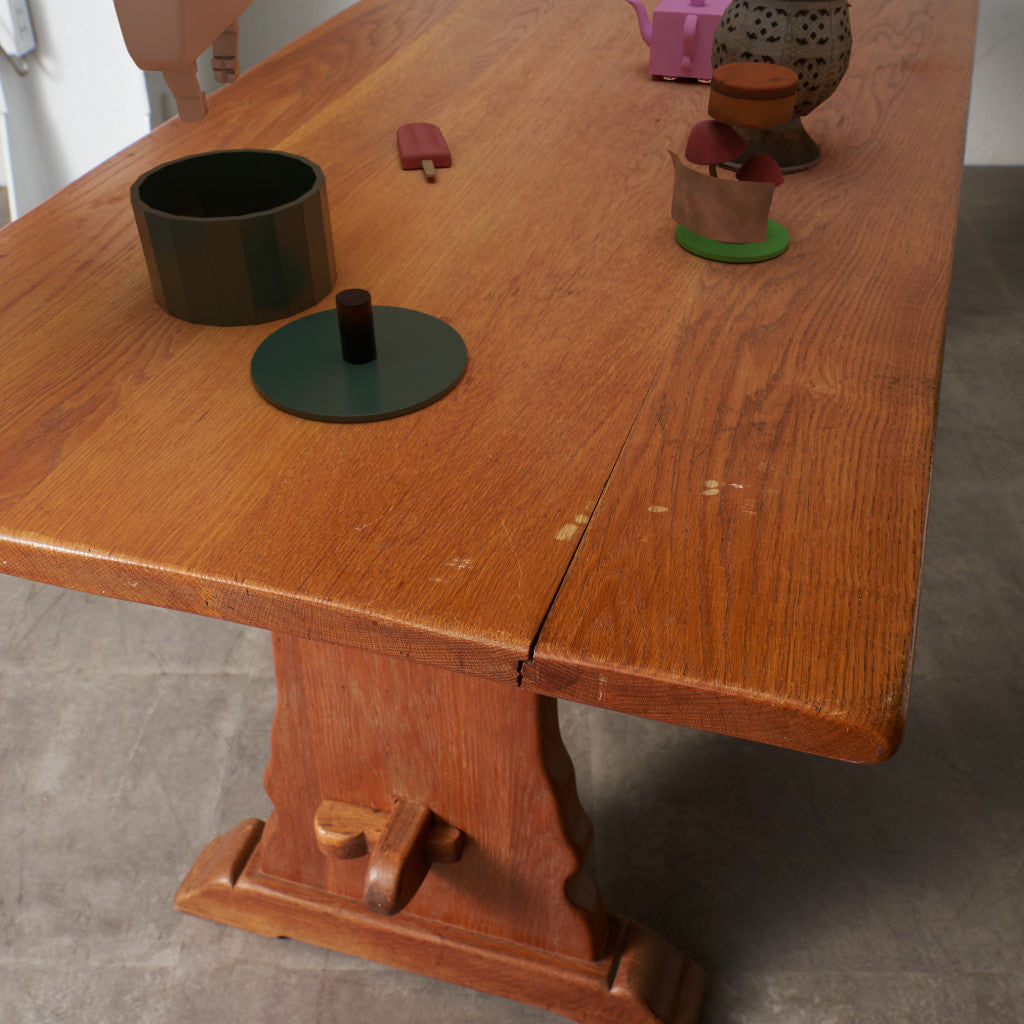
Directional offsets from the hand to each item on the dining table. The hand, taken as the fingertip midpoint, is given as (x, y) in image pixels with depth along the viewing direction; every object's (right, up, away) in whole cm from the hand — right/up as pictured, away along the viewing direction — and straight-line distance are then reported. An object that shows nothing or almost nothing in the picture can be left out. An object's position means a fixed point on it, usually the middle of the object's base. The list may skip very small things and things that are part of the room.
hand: (212, 99), depth 78 cm
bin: (0, -12, +10) cm, 16 cm away
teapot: (+47, +28, +59) cm, 80 cm away
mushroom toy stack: (+44, -6, +18) cm, 48 cm away
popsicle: (+13, +7, +35) cm, 38 cm away
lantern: (+51, +8, +36) cm, 63 cm away
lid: (+12, -21, -1) cm, 24 cm away
